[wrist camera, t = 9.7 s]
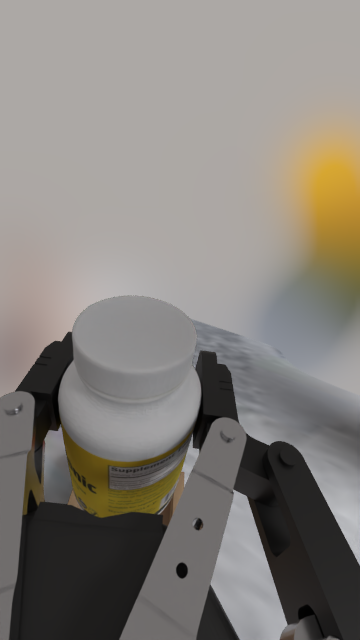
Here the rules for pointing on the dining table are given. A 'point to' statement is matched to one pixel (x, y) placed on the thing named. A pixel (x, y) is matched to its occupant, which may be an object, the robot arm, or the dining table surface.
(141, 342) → the supplement bottle
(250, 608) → the dining table surface
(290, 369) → the dining table surface
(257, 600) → the dining table surface
